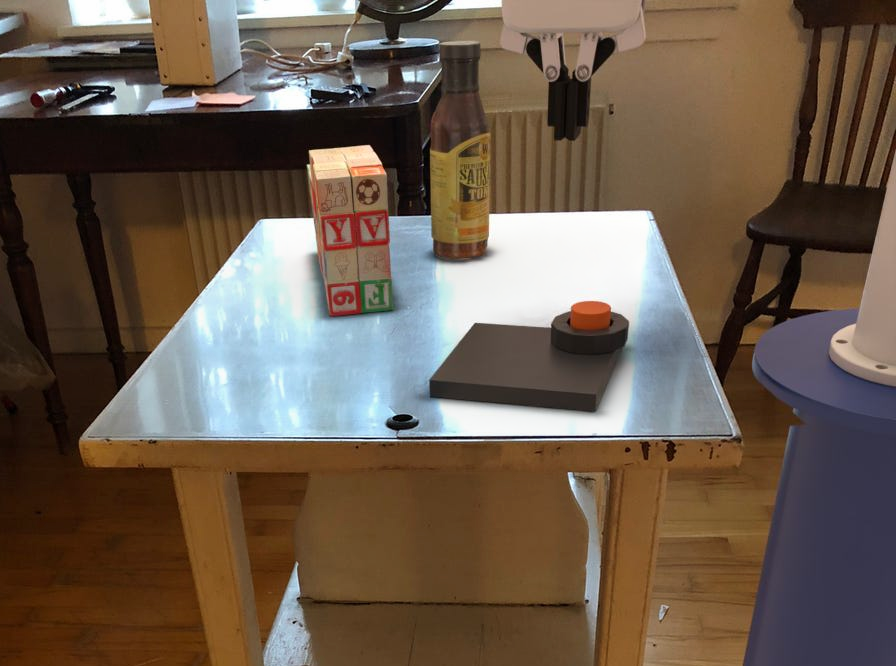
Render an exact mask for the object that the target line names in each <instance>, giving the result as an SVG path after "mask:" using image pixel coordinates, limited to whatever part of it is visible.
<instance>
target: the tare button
mask: <svg viewBox="0 0 896 666" xmlns="http://www.w3.org/2000/svg"><path fill="white" fill-rule="evenodd" d="M570 311H571V317H570V327H573V328H576V329H580V330H599V329H605V328H608V327H609V326H610V315H611V312H612V307H611V305H610V304H609V303H606V302H603V301H599V300H598V301H597V300H584V301H578V302H576V303H573V304H572V305H571V306H570Z"/></svg>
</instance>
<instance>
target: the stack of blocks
mask: <svg viewBox="0 0 896 666" xmlns="http://www.w3.org/2000/svg"><path fill="white" fill-rule="evenodd" d="M308 156H309V164H306V170H307V171H306V174H307V181H308V183H307V184H308V190H309V191H308V192H309V197H310V201H311V209H312V219H313V225H314V233H315V242H316V250H317V251H316V252H317V256H318V263H319V267H320V273H321V277H322V279H323V285H324V288H325V295H326V296H325V297H326V302H327V308H328V314H329V316H330V317H337V316H348V315H358V314H366V313H377V312H389V311H393V310H394V295H393V292H394V291H393V277H392V270H391V269H392V268H391V251H390V248H391V247H390V243H391V234H390V218H389V216H390V215H389V203H388V198H389V197H388V176H387V175H388V174H387V172H386V171H385V169H384V167H383V163H382V161H381V160H380V158H379V156H378V154H377V153H376V152H375V151H374V149H373V147H372V146H371V145H370V144H365V145H356V146H346V147H334V148H321V149H311V150H310V149H309V150H308Z"/></svg>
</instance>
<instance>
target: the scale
mask: <svg viewBox="0 0 896 666" xmlns="http://www.w3.org/2000/svg"><path fill="white" fill-rule="evenodd" d="M570 317H571V310H569V311H566V312H563V313H561V314H558V315H555V317H554V318H553V319H552V321H551V323H550V327H548V326H547V327H545V326H531V325H530V326H529V325H518V324H517V325H516V324H502V323H501V324H499V323H498V324H497V323H486V322H474V323H473V324H472V326H471V327H470V328H469V330H468V331H467V332H466V333H465V334H464V336H463V337H462V339H461V340H460V341H459V342H457V344H456V346H455V347H454V348H453V349H452V351H451V352H450V353H449V354H448V355H447V357H446V358H445V359H444V361H443V362H442V363H441V364H440V366H439V367H438V368H437V370H436V371H435V372H434V373H433V374H432V376H431V377H430V378H429V380H428V383H429V384H428V385H429V387H428V388H429V397H431V398H443V399H455V400H466V401H474V402H475V401H476V402H486V403H487V402H488V403H497V404H509V405H519V406H520V405H521V406H522V405H523V406H531V407H532V406H533V407H540V408H541V407H542V408H554V409H565V410H574V411H575V410H576V411H587V412H595V411H596V410H597V407H598V405H599V403H600V401H601V399H602V396H603V394H604V392H605V390H606V387H607V385H608V383H609V381H610V380H609V379H610V378H611V376H612V374H613V371H614V369H615V367H616V365H617V362H618V360H619V358H620V356H621V353H622V352H623V349H624V348H625V346H626V344H627V343H628V339H629V329H630V321H629V319H627V318H626V317H625V316H624V315H623V314H621V313H617V312H614V311H611V315H610V326H609V327H608V328H605V329H599V330H580V329H576V328H573V327H570Z"/></svg>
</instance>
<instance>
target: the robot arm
mask: <svg viewBox="0 0 896 666" xmlns="http://www.w3.org/2000/svg"><path fill="white" fill-rule="evenodd" d="M646 7H647V0H501V16H502V21H503V23H502V28H501V32H500V38H499V47H500V48H501V49H503V50H505V51H508V52H512V53H516V54H519V55H522V56H523V55H524V56H527V57H529V59H531V61H532V62H533V63H534V64H535V66H536V67H537V68H538V69H539V70H540V71H541V73H542V74H543V77H544V79H545V80H546V81H547V82H548V86H547V87H548V90H547V91H548V93H547V117H546V118H547V119H546V120H547V124H546V125H547V127H550V128H551V127H553V141H554V142H556V141H557V142H559V141H563V140H564V139H566V140H567V141H568V142H569V141H570V142H575V141H576V140H577V139H578V138H579V136H580V135H581V133H582V128H583V127H584V128H587V127H588V126H589V121H590V111H591V110H590V108H591V91H592V77H593V75H595V73H596V72H597V71H598V70H599V69H600V68H601V67H602V66H603V65H604V63H605V62H606V61H607V60H609V58H610V57H611V56H614V55H617V54H621V53H625V52H628V51H631V50H635V49H638V48H640V47H642V46H643V45H644V44H645V42H646V40H647V33H646V26H645V18H644V17H645V16H644V14H645V11H646ZM614 32H617V33H614ZM604 33H613V34H610V35H607V36H605V37H604ZM532 34H539V36H536V35H532ZM564 34H581V36H580V41H579V42H580V43H579V48H578V54H577V60H576V65H575V69H573V71H572V74H571V75H569V68H568V67H567V62H566V51H565V41H564V40H565V39H564ZM875 234H876V235H875V240H874V244H873V248H872V253H871V256H870V262H869V266H868V270H867V274H866V279H865V283H864V287H863V292H862V296H861V301H860V306H859V308H860V309H859V313H858V318H857V322H856V324H853V325H850V326H847V327H845V328H843V329H841V330H839V331H838V332H837V333H836V334H834V335H833V337H832V339H831V343H830V348H829V355H830V358H831V360H832V361H833V362H834V363H835V364H836V365H837V366H838V367H840V368H841V369H843V370H844V371H846V372H848V373H850V374H852V375H854V376H856V377H859V378H862V379H864V380H867V381H870V382H874V383H878V384H882V385H886V386H891V387H896V150H895V151H894V156H893V160H892V163H891V169H890V174H889V177H888V182H887V187H886V191H885V194H884V199H883V204H882V209H881V212H880V217H879V222H878V225H877V231H876V233H875Z"/></svg>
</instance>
